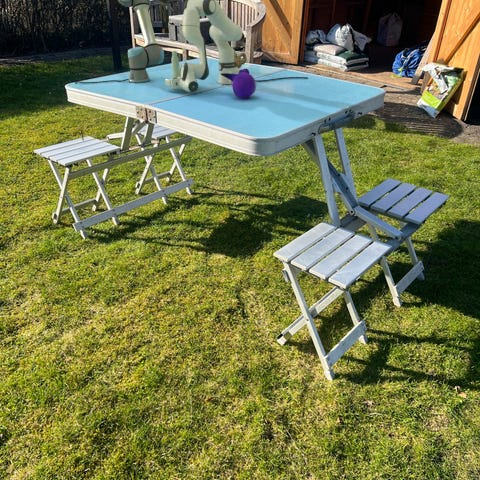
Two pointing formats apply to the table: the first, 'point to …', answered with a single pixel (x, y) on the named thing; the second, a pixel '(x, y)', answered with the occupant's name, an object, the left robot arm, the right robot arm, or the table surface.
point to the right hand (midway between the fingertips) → (176, 79)
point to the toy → (242, 83)
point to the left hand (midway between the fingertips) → (165, 33)
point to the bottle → (175, 65)
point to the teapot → (237, 59)
